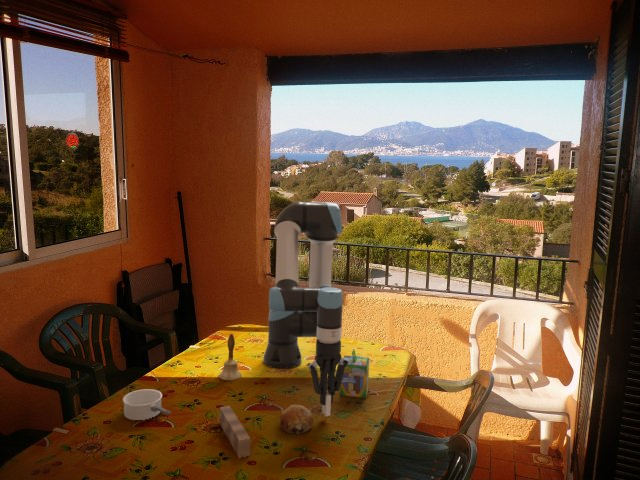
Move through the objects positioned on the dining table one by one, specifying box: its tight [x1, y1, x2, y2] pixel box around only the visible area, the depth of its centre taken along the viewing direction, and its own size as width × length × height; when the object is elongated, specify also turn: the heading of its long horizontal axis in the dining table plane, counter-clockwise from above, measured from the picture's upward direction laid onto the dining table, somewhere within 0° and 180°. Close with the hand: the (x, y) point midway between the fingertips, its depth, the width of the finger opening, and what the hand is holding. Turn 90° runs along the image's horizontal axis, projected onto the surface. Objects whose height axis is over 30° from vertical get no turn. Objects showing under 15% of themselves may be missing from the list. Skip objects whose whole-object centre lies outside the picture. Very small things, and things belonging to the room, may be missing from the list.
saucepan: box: [121, 388, 172, 421], centre depth 149 cm, size 12×20×6 cm, turn 50°
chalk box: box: [339, 348, 370, 399], centre depth 172 cm, size 9×9×15 cm
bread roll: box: [279, 404, 314, 435], centre depth 148 cm, size 10×10×8 cm
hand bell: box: [218, 333, 243, 381], centre depth 182 cm, size 8×8×16 cm
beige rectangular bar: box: [219, 405, 251, 459], centre depth 139 cm, size 20×3×5 cm, turn 26°
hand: (326, 413), depth 152 cm, fingers closed
